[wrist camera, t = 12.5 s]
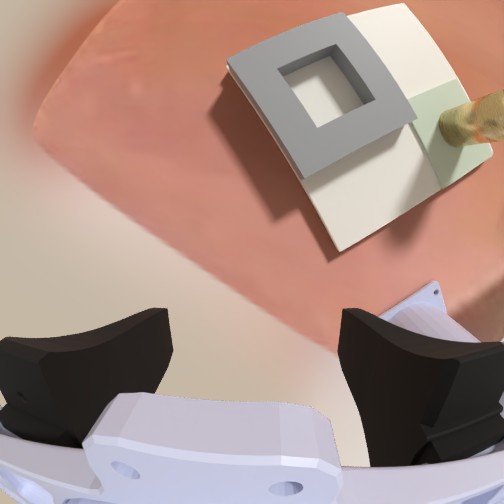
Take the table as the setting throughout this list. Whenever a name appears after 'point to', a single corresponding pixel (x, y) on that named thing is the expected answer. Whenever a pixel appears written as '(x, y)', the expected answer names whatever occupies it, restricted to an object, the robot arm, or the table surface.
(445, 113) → the brass cylinder
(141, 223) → the table surface
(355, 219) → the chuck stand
